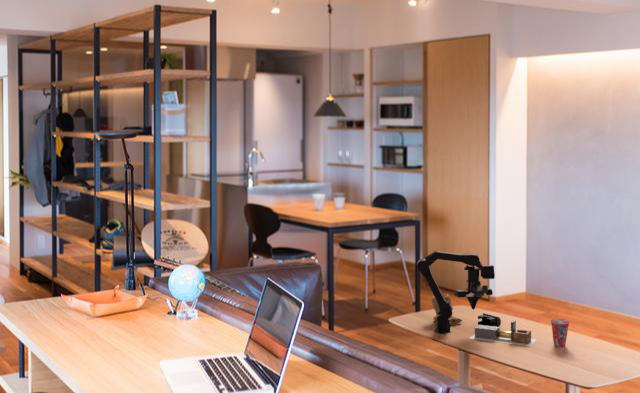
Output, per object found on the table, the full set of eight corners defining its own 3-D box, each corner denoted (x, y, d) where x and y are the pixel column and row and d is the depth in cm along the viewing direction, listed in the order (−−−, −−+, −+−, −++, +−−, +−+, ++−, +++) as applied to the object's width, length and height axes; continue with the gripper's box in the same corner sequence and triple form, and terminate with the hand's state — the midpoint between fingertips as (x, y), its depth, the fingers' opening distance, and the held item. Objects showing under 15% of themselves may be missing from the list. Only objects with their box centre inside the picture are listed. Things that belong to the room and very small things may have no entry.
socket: (513, 342, 385) (513, 332, 385) (517, 338, 391) (517, 329, 391) (527, 344, 382) (527, 334, 382) (531, 340, 388) (531, 330, 388)
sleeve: (474, 337, 395) (474, 327, 395) (478, 334, 401) (478, 324, 400) (495, 339, 390) (495, 330, 389) (499, 336, 395) (499, 327, 395)
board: (468, 338, 393) (468, 338, 393) (477, 332, 404) (477, 332, 404) (529, 346, 378) (529, 346, 378) (536, 340, 390) (536, 339, 390)
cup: (569, 349, 374) (570, 323, 373) (551, 348, 376) (551, 323, 375) (567, 343, 383) (568, 318, 382) (549, 342, 385) (549, 318, 384)
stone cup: (427, 321, 429) (427, 293, 428) (445, 318, 435) (445, 290, 433) (444, 327, 416) (444, 298, 414) (462, 324, 422) (463, 296, 420)
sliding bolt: (489, 337, 392) (489, 319, 391) (492, 335, 396) (492, 317, 395) (524, 342, 384) (524, 323, 383) (526, 339, 388) (527, 321, 387)
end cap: (501, 329, 411) (501, 316, 411) (491, 331, 407) (491, 318, 407) (487, 325, 420) (487, 312, 419) (477, 327, 416) (477, 314, 415)
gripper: (463, 282, 392) (463, 314, 393) (498, 280, 397) (497, 311, 398) (453, 278, 402) (453, 309, 404) (487, 276, 407) (487, 306, 409)
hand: (473, 309), depth 403 cm, fingers closed
